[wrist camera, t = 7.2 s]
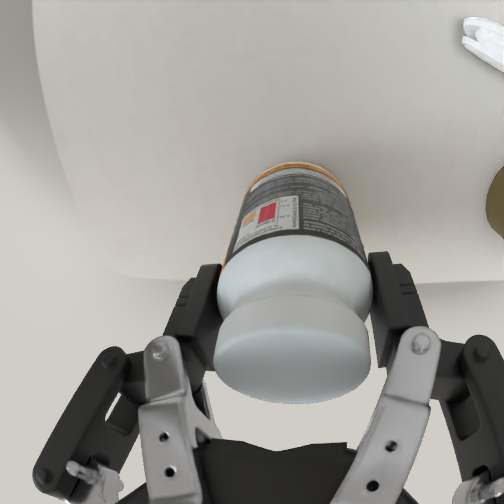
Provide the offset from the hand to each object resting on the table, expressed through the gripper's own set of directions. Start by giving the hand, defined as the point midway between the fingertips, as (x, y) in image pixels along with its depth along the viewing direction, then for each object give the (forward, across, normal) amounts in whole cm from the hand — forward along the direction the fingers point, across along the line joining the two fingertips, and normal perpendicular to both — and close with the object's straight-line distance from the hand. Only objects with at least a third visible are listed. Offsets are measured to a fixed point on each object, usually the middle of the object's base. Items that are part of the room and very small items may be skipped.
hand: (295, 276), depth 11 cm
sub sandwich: (+7, -14, -9) cm, 18 cm away
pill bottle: (+6, 0, 0) cm, 6 cm away
